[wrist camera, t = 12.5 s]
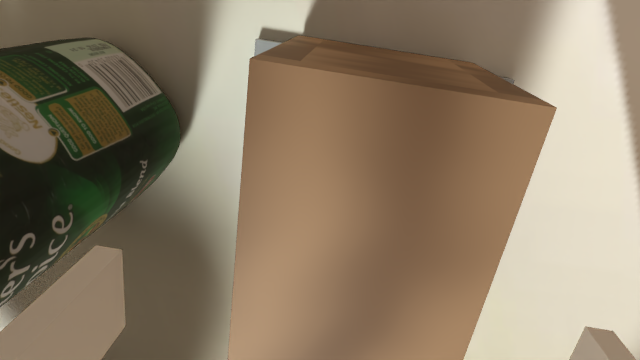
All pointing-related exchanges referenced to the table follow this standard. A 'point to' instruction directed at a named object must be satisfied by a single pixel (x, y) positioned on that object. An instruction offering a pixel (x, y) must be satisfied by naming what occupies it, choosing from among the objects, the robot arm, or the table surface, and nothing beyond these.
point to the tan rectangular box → (374, 201)
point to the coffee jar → (72, 148)
